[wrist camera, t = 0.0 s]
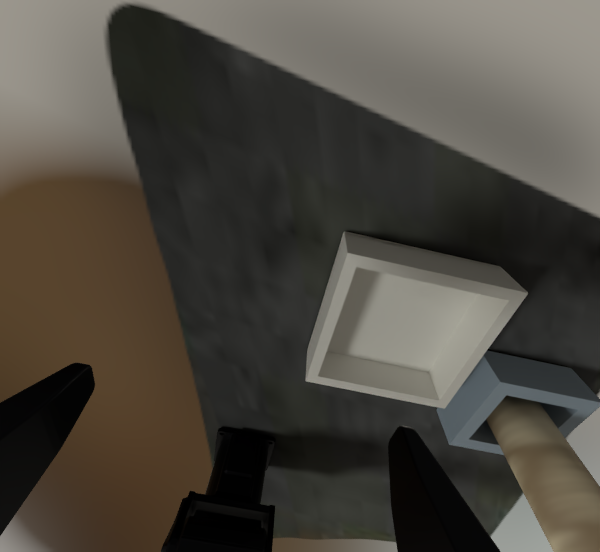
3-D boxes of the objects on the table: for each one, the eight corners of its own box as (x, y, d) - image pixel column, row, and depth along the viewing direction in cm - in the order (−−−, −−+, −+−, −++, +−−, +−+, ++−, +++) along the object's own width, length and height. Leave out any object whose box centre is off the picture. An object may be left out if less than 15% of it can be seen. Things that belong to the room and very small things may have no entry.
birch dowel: (508, 409, 29) (622, 600, 18) (465, 400, 29) (554, 589, 18) (535, 379, 27) (685, 575, 16) (489, 369, 27) (607, 561, 16)
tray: (431, 375, 28) (444, 408, 25) (307, 349, 27) (305, 381, 24) (500, 266, 22) (528, 293, 19) (344, 231, 21) (347, 253, 18)
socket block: (516, 425, 31) (537, 461, 28) (436, 409, 30) (449, 444, 27) (571, 368, 26) (603, 403, 23) (479, 349, 26) (500, 381, 23)
